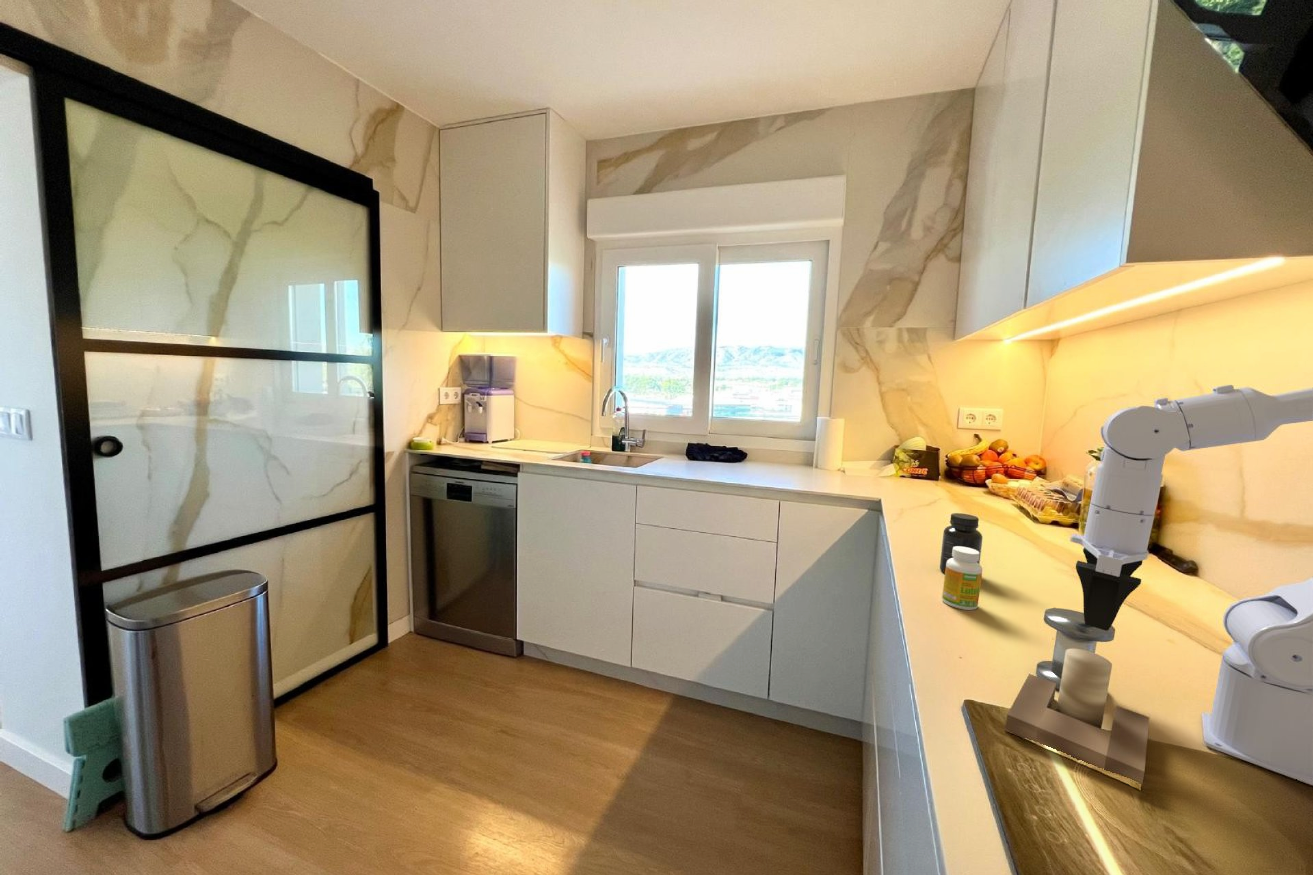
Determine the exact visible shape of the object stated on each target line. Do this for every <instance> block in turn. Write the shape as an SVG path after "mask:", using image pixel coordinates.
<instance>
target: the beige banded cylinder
mask: <svg viewBox="0 0 1313 875" xmlns="http://www.w3.org/2000/svg"><path fill="white" fill-rule="evenodd" d="M1112 667H1113V663H1112V662H1111V661H1110V660H1109V659H1107V658H1106V657H1104V656H1102V655H1100V654H1098V653H1096V652H1095V653H1092V652H1089V651H1086V650H1081V649H1067V650H1066V652H1065V659H1064V665H1063V672H1062V678H1061V684H1060V691H1058V696H1057V697H1058V699H1057V705H1056V709H1055V711H1057V712H1059V713H1062V714H1064V715H1067V716H1069V717H1072V718H1074V719H1077V720H1080V721H1082V722H1085V723H1087V724H1090V725H1092V726H1095V727H1097V728H1100V729H1103V728H1102V726H1103V720H1104V715H1105V709H1106V705H1107V704H1106V702H1107V699H1108V698H1107V696H1108V691H1109V686H1110V680H1111V674H1112V670H1113V669H1112Z"/></svg>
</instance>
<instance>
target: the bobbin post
mask: <svg viewBox="0 0 1313 875" xmlns="http://www.w3.org/2000/svg"><path fill="white" fill-rule="evenodd" d="M1043 621H1044V624H1046V625H1047V626H1049V627H1050V628H1053V629H1054V630H1056V634H1055V640H1054V647H1053V654H1052V660H1041V661H1039V662H1037V664H1036V669H1035V676H1037V677H1040V678H1042V679H1045V680H1048V681H1051V682H1054V683H1056V690H1055V691H1057V692H1059V691H1060V684H1061V678H1062V672H1063V665H1064V659H1065V652H1066V650H1067V649H1081V650H1086V651H1089V652H1092V653H1095V654H1096V648H1097V643H1098V642H1099V643H1109V642H1112V641H1114V639H1115V634H1116V628H1115V626H1113V624H1112V625H1111V627H1110V628H1109V630H1108V631H1105V630H1102V629H1099V628H1095V627H1092V626H1089V625H1086V624H1085V621H1084V612H1081V611H1077V610H1072V609H1068V608H1059V607H1058V608H1056V607H1055V608H1054V607H1053V608H1052V607H1051V608H1050V607H1049V608H1047V609H1045V611H1044V616H1043Z"/></svg>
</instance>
